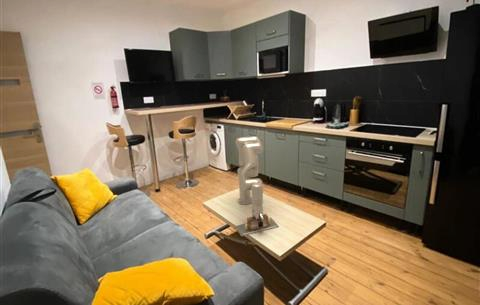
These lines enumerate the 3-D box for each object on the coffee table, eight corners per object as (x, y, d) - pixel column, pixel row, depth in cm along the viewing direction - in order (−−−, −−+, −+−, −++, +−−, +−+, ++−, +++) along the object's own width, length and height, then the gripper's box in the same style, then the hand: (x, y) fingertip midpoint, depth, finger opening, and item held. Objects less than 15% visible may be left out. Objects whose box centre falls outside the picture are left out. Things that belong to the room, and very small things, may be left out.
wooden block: (247, 228, 166) (247, 218, 164) (265, 223, 170) (265, 213, 168) (249, 231, 162) (249, 221, 160) (268, 226, 166) (268, 216, 164)
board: (235, 227, 169) (234, 219, 168) (271, 219, 178) (271, 211, 176) (241, 238, 157) (241, 229, 156) (279, 228, 166) (279, 220, 164)
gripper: (247, 196, 167) (248, 217, 172) (257, 207, 151) (257, 231, 156) (257, 194, 169) (257, 215, 174) (267, 205, 153) (268, 228, 158)
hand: (257, 223), depth 165 cm, fingers open, 9 cm apart
